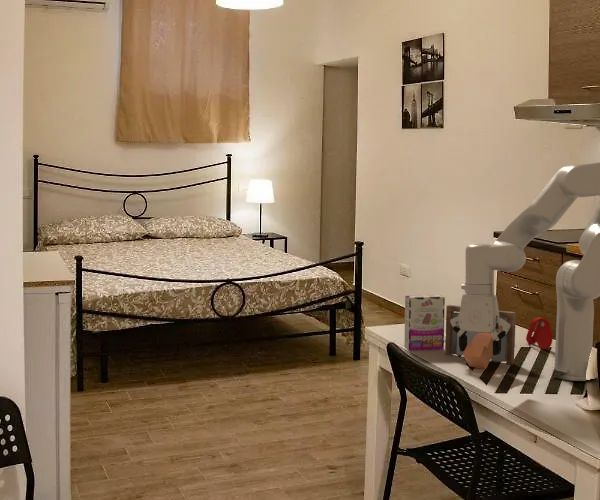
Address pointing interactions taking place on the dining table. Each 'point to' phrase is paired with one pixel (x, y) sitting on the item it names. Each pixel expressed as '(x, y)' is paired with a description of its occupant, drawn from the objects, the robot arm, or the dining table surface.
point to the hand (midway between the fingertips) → (479, 352)
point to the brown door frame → (510, 315)
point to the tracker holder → (540, 333)
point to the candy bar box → (424, 322)
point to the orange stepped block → (480, 350)
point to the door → (470, 338)
